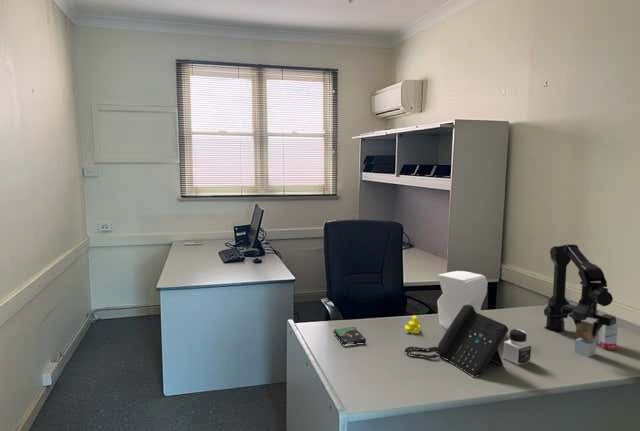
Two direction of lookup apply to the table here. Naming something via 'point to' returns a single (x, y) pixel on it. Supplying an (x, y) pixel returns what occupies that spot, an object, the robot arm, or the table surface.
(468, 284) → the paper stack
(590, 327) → the walnut cube
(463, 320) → the office phone
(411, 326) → the yellow ball pyramid
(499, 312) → the table surface
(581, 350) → the painted cube
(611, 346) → the ink box
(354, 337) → the disk drive
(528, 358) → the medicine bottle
